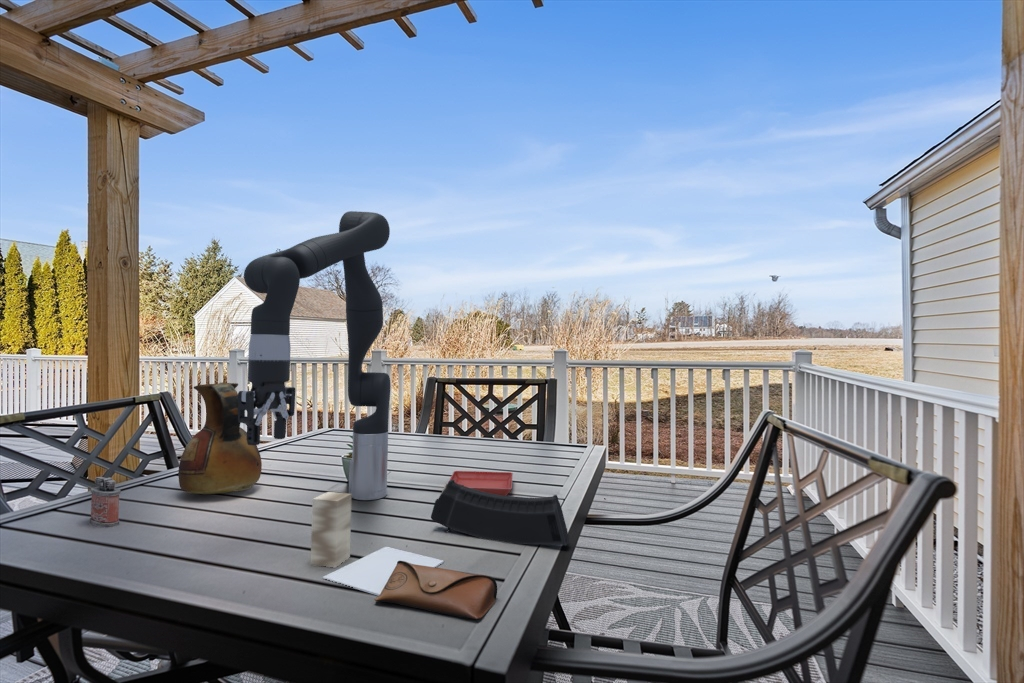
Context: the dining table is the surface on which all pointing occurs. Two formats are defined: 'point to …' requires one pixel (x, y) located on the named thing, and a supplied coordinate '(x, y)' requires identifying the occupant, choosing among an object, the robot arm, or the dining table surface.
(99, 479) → the lighter
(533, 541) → the magazine
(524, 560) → the dining table surface
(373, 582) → the mat
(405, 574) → the sunglasses case
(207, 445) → the ceramic pitcher
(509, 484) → the plant saucer
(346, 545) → the birch block
